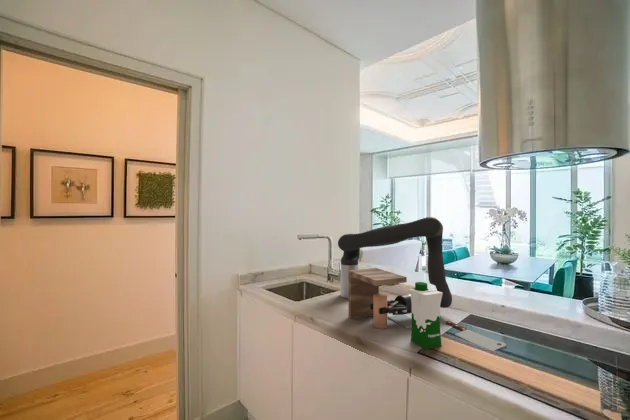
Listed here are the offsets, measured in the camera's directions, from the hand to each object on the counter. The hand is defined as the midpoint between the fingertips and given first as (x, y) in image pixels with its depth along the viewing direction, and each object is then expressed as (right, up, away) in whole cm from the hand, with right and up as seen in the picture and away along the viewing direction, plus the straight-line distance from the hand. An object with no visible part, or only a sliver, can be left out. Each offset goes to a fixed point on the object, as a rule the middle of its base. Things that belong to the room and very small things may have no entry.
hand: (375, 308), depth 115 cm
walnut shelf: (+1, -7, +4) cm, 8 cm away
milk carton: (+14, -7, -15) cm, 22 cm away
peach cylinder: (+2, -7, +1) cm, 7 cm away
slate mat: (+13, -7, +6) cm, 16 cm away
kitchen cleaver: (+32, -8, -8) cm, 34 cm away
